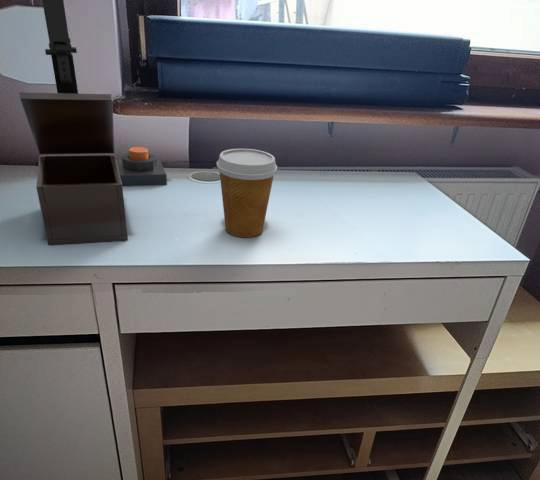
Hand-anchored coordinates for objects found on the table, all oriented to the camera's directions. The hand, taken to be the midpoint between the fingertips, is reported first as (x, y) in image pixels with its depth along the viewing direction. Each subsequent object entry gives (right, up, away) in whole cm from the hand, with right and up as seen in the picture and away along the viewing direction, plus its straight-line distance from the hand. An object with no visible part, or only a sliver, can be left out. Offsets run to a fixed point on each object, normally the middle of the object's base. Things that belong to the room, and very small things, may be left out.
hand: (70, 107), depth 72 cm
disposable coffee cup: (+24, -14, +14) cm, 31 cm away
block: (+2, +1, +30) cm, 30 cm away
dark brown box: (-1, -14, +11) cm, 17 cm away
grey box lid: (-1, -2, +3) cm, 4 cm away
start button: (+3, +4, +27) cm, 28 cm away
